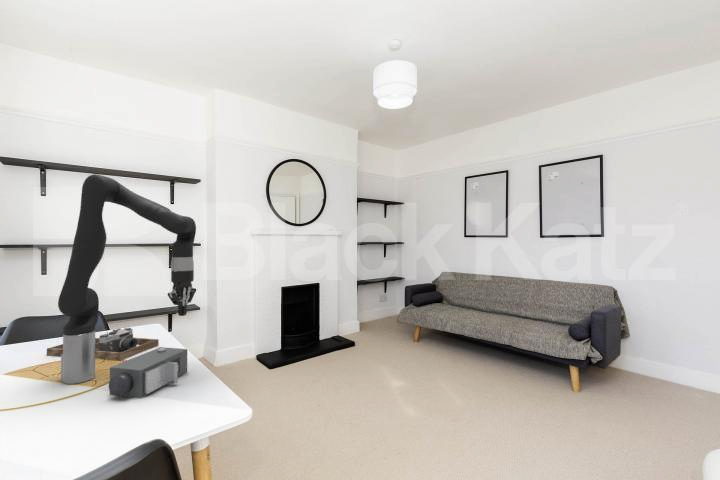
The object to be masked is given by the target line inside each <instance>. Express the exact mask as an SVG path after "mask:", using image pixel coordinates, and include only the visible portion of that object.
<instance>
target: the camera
mask: <svg viewBox="0 0 720 480" xmlns="http://www.w3.org/2000/svg"><path fill="white" fill-rule="evenodd" d="M98 338H99V351H108V352H120V353H121V352H123V351H126V350H129V349H131V348H134V347H137V346H138V345H137V340H136V339H134V338H135V337H134V331H133V328H131V327H124V328H123V329H121V328H116V329H112V331H107V332H106V333H104V334H100V335H99V337H98Z"/></svg>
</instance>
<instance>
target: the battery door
mask: <svg viewBox="0 0 720 480" xmlns="http://www.w3.org/2000/svg"><path fill="white" fill-rule="evenodd" d="M178 379H179V377H178V363H177V362H165V363H163V364H161V365H159V366H157V367H155V368H152V369H150V370H148V371H146V372H145V378H144V394H147V395H149V394H150V392H151V393H153V392H154V391H157V390H158V389H159V387H160V388H162V387H164V386H165V385H167V384H171V385H175V384H177V383H178ZM161 386H162V387H161ZM157 388H158V389H157ZM148 393H149V394H148Z"/></svg>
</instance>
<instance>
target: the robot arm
mask: <svg viewBox="0 0 720 480" xmlns="http://www.w3.org/2000/svg"><path fill="white" fill-rule="evenodd" d="M80 196H81V198H80V208H79V216H78V221H77V225H76V230H75V234H74V238H73V244H72V248H71V254H70V258H69V259H70V260H69V263H68V268H67V273H66V276H65V279H64V282H63V286H62V287H61V291H60V294H59V296H58V301H57V302H58V303H57V307H58V310H59V312H60V313H61V314H62V315H64V316H65V317H69V319H68V321H67V323H66V324H65V325H63V328H62V344H63V354H62V355H61V357H60V381H61V382H62V383H63V384H64V385H65V384H67V385H74V384H80V383H85V382H87V381H90V380H92V379H94V378H95V377H96V358H95V338H96V325H97V323H98V321H99V309H100V308H99V305H100V303H99V301H100V300H99V295H98V293H97V291H95V289H93V288H90V287H89V283H90V279H91V277H92V275H93V273H94V271H95V270H96V269H97V267H98V266H99V264H100V262H101V260H102V258H103V255H104V252H105V248H106V243H107V232H106V228H105V225H104V220H103V210H104V205H105V203H112V204H115V205H119V206H122V207H124V208H127V209H129V210H131V211H133V212H134V213H136V214H137V215H138V216H140V217H141V218H144V219H146V220H147V221H149V222H152V223H154V224H156V225H159V226H161V227H162V228H164V229H165V230H166V231H168V232H169V233H172V234H174V235H176V240H175V241H174V242H173V243H172V245H171V248H172V249H171V263H170V267H171V268H170V272H171V273H170V275H171V276H170V282H171V283H173V285H172V290H171V292H167V297H168V298H169V300H170V301H171V302H172V304H173V305H174V306H177V309H178V313H177V314H178V316H179V317H184V316H187V313H188V310H187V309H188V304H189V303H192V300H193V298H194V296H195V293H196V292H197V288H194V287H193V284H192V282H194V278H195V277H194V275H195V274H194V273H195V271H194V269H195V268H194V266H195V265H194V264H195V261H194V242H195V240H196V239H195V237H196V234H197V225H196V221H195V220H194V219H193V218H192V217H190V216H186V215H180V214H179V213H176V212H173V211H171V209H170V208H168V207H166V206H165V205H162V204H160V203H158V202H156V201H153V200H151V199H149V198H146V197H143V196H142V195H139V194H137V193H135V192H134V191H132V190H130V189H129V188H127V187H126V186H125V185H123V184H121V183H120V182H118V181H117V180H116V179H114V178H111V177H108V176H104V175H101V174H96V173H94V174H90V175H88V176H87V177H86V178H85V180H84V181H83V183H82V187H81V195H80Z"/></svg>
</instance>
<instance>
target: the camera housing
mask: <svg viewBox="0 0 720 480" xmlns="http://www.w3.org/2000/svg"><path fill="white" fill-rule="evenodd" d="M165 362H177V363H178V378H180V377H182V376H184V375H185V374H186V373H187V374H188V349H187V348H175V347H165V346H159V347H157V348H155V349H153V350H151V351H146V353H142V354H140V355H137V356H135V357H133V358H129V359H128V360H125V361H123V362H120V363H117V364H115V365H112V366H110V367H109V381H108V390H109V395H111V396H115V397H120V396H121V397H129V398H137V399H138V398H139V399H141V398H143V397H146V395H149V394H150V393H152V392H150V393H148V394H144V378H145V372H146V371H148V370H150V369H152V368H155V367H157V366H159V365H161V364H163V363H165ZM183 374H184V375H183ZM162 387H163V386H161V387H159V388H162ZM159 388H157V389H156V390H158V389H159Z"/></svg>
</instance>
